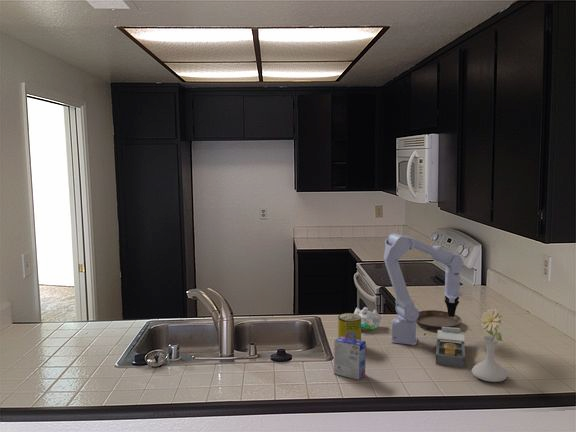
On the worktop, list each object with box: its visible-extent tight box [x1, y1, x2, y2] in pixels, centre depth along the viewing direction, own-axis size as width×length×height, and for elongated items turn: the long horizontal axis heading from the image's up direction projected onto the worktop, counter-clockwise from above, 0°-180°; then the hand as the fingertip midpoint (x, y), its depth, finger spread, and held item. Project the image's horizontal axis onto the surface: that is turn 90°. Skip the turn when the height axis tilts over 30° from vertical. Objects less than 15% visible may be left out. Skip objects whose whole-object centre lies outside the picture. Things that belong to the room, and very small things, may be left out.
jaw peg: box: [444, 343, 456, 356], centre depth 188 cm, size 4×4×6 cm
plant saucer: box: [416, 309, 462, 332], centre depth 227 cm, size 21×21×3 cm
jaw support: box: [353, 306, 382, 330], centre depth 224 cm, size 12×9×10 cm
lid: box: [436, 327, 465, 343], centre depth 202 cm, size 10×10×2 cm
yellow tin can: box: [337, 312, 362, 340], centre depth 203 cm, size 9×9×12 cm
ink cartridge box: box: [333, 332, 367, 380], centre depth 177 cm, size 10×6×14 cm, turn 58°
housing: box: [435, 339, 466, 368], centre depth 193 cm, size 10×18×4 cm, turn 162°
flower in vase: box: [471, 308, 508, 383], centre depth 172 cm, size 13×11×25 cm
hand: (451, 314), depth 211 cm, fingers open, 4 cm apart
